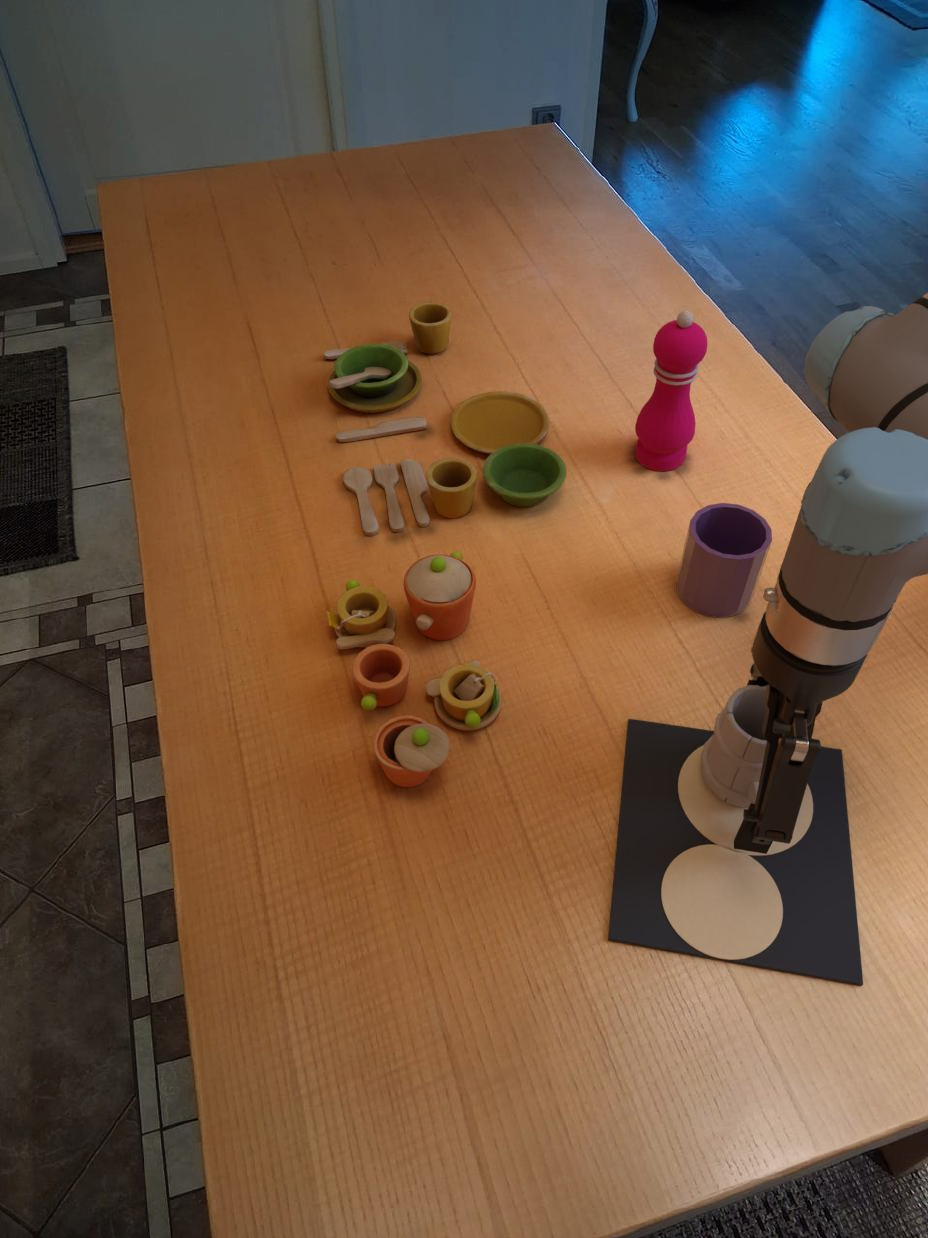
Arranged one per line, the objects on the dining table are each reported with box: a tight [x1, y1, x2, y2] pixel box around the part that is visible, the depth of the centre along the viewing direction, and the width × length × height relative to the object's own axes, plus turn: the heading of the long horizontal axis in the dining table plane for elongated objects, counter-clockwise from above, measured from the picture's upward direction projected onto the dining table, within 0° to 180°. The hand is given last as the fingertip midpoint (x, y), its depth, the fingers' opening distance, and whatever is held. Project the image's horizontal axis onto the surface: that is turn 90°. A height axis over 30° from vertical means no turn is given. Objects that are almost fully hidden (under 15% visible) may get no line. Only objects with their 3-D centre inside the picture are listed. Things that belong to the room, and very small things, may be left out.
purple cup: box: [675, 502, 773, 618], centre depth 95 cm, size 8×8×9 cm
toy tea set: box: [326, 551, 502, 788], centre depth 87 cm, size 26×16×10 cm, turn 16°
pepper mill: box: [634, 310, 709, 472], centre depth 106 cm, size 7×7×20 cm
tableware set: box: [322, 301, 567, 537], centre depth 116 cm, size 41×28×6 cm
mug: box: [701, 685, 790, 808], centre depth 77 cm, size 8×12×12 cm, turn 0°
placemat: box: [607, 718, 864, 987], centre depth 79 cm, size 20×22×1 cm
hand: (749, 783), depth 80 cm, fingers closed on mug, 12 cm apart
